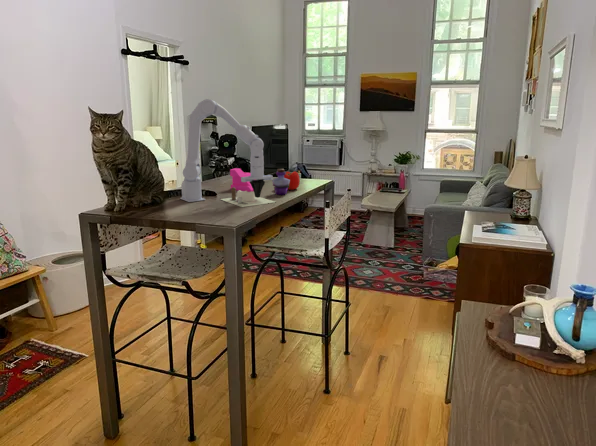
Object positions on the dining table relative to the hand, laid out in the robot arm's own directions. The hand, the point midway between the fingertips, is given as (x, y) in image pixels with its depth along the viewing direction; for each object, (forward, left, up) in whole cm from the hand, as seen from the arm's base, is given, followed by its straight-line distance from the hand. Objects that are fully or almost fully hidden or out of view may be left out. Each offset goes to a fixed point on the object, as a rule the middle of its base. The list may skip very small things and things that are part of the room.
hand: (257, 197), depth 199 cm
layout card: (0, -5, -1) cm, 5 cm away
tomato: (-15, +28, -2) cm, 32 cm away
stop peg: (+4, -11, -1) cm, 11 cm away
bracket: (-27, +10, -2) cm, 29 cm away
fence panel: (0, -6, -1) cm, 6 cm away
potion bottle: (-6, +17, -2) cm, 18 cm away
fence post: (-5, -9, -1) cm, 10 cm away
